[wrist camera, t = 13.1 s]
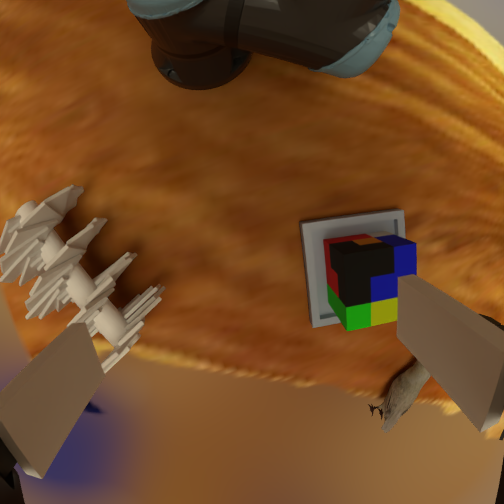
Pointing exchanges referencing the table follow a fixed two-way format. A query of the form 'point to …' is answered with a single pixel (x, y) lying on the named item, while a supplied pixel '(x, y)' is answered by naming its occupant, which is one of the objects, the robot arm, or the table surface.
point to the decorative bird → (402, 394)
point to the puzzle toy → (367, 276)
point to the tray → (315, 256)
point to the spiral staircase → (70, 273)
